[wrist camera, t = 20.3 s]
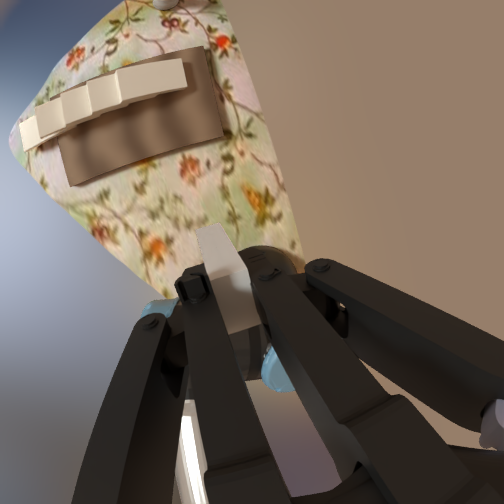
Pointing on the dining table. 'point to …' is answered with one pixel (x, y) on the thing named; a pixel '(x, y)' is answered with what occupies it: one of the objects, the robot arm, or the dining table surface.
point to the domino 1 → (35, 134)
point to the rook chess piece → (164, 4)
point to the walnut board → (144, 123)
